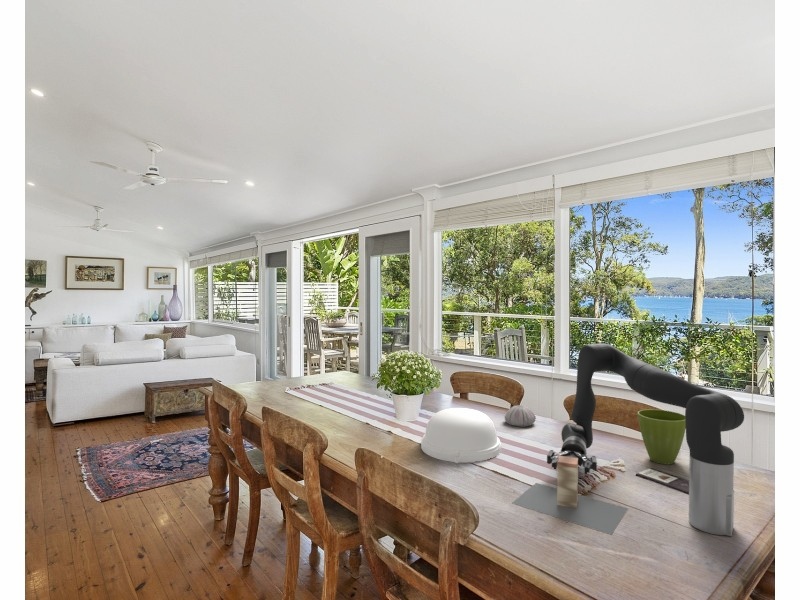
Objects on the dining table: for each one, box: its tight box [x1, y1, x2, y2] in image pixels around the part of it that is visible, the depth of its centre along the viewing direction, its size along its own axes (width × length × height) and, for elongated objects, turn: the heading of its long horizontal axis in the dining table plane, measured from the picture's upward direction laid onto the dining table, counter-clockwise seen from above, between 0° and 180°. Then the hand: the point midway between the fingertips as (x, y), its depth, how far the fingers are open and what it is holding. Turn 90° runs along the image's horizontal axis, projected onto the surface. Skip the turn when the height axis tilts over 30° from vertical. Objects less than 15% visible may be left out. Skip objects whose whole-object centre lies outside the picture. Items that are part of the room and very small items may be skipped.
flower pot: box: [637, 408, 686, 465], centre depth 160 cm, size 15×15×16 cm
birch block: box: [556, 456, 579, 508], centre depth 128 cm, size 5×5×12 cm
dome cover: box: [420, 407, 502, 464], centre depth 173 cm, size 32×30×14 cm
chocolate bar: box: [635, 467, 689, 495], centre depth 142 cm, size 9×1×18 cm
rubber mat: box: [511, 482, 630, 536], centre depth 126 cm, size 26×17×1 cm, turn 51°
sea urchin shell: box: [504, 404, 537, 428], centre depth 204 cm, size 13×14×8 cm
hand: (570, 468), depth 135 cm, fingers open, 8 cm apart
